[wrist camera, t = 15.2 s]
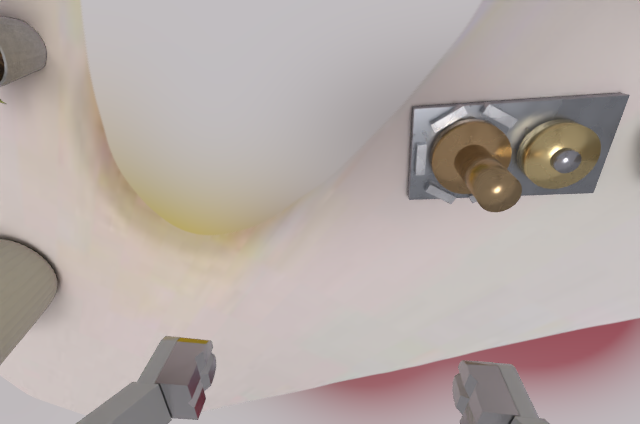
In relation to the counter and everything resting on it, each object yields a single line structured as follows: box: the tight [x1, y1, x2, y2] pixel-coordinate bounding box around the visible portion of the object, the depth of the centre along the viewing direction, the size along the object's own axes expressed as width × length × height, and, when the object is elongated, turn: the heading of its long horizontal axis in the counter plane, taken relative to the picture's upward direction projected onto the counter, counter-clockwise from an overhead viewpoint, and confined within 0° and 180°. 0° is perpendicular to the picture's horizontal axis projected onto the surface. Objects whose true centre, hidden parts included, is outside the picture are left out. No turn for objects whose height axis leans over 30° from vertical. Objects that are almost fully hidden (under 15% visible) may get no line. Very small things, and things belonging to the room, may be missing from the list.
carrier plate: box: [408, 93, 629, 204], centre depth 36 cm, size 12×21×5 cm, turn 95°
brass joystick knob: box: [429, 119, 522, 212], centre depth 33 cm, size 8×8×10 cm
